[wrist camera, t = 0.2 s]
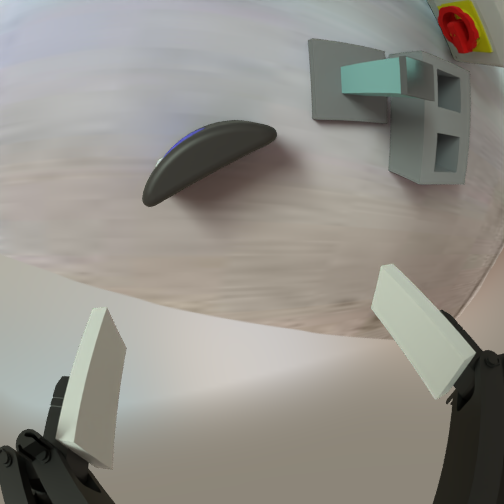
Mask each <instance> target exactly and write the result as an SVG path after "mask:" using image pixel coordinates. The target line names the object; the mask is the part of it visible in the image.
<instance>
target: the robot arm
mask: <svg viewBox="0 0 504 504" xmlns="http://www.w3.org/2000/svg"><path fill="white" fill-rule="evenodd" d="M371 309H372V310H373V311H374V313H375V314H376V315H377V317H378V318H379V319H380V321H381V322H382V323H383V325H384V326H385V328H386V329H387V330H388V332H389V333H390V334H391V336H392V337H393V339H394V340H395V341H396V343H397V344H398V345H399V347H400V348H401V350H402V351H403V352H404V354H405V355H406V357H407V358H408V360H409V361H410V362H411V364H412V365H413V367H414V368H415V370H416V371H417V373H418V374H419V376H420V377H421V379H422V380H423V382H424V383H425V385H426V386H427V388H428V389H429V391H430V392H431V394H432V396H433V397H434V399H435V400H436V399H438V398H440V397H441V396H443V395H445V394H447V393H448V391H449V390H450V389H451V388H452V386H453V385H454V387H455V388H456V389H455V391H454V392H453V393H452V394H451V396H450V397H449V398H448V399H447V401H446V404H448V403H449V402H450V401H451V399H452V398H453V401H452V402H451V405H452V414H451V422H450V430H449V437H448V443H447V448H446V454H445V459H444V464H443V468H442V472H441V476H440V480H439V484H438V488H437V491H436V495H435V498H434V501H433V504H504V354H500V355H497V354H496V353H495V352H493V351H490V350H485V351H482V350H481V349H480V348H479V346H478V345H477V344H476V343H475V342H474V340H473V339H472V338H471V337H470V336H469V335H468V334H467V332H466V331H465V330H463V328H462V327H461V326H460V325H459V324H458V323H457V321H456V320H455V319H454V318H453V317H452V316H451V315H450V314H448V313H447V312H445V311H443V310H440V311H439V310H438V309H437V308H436V307H435V306H434V305H433V304H432V302H431V301H430V300H429V299H428V298H427V297H426V296H425V295H424V294H423V293H422V292H421V291H420V290H419V289H418V288H417V287H416V286H415V285H414V284H413V283H412V282H411V281H410V280H409V279H408V278H407V277H406V276H405V275H404V274H403V273H402V272H401V271H400V270H399V269H398V268H397V267H396V266H395V265H394V264H388V265H383V266H381V268H380V273H379V277H378V282H377V286H376V290H375V294H374V298H373V302H372V306H371ZM125 354H126V346H125V344H124V342H123V340H122V338H121V336H120V334H119V332H118V330H117V328H116V326H115V324H114V322H113V319H112V317H111V315H110V313H109V311H108V308H107V307H102V308H93V309H92V312H91V315H90V318H89V320H88V323H87V325H86V328H85V331H84V334H83V337H82V340H81V343H80V345H79V349H78V352H77V355H76V358H75V361H74V364H73V368H72V371H71V375H70V377H67V376H62V378H61V379H60V380H59V382H58V383H57V385H56V387H55V390H54V394H53V399H52V401H51V407H50V409H49V413H48V417H47V421H46V426H45V431H44V435H43V437H42V436H41V435H40V434H39V433H38V432H36V431H34V430H32V429H27V430H24V431H22V432H21V433H20V434H19V436H18V438H17V440H16V450H17V451H16V450H14V449H13V448H11V447H10V446H2V447H0V485H1V490H2V494H3V498H4V502H5V504H115V503H114V501H113V500H112V499H111V498H110V497H109V495H108V494H107V493H106V491H105V490H104V489H103V487H102V486H101V485H100V484H99V482H98V481H97V479H96V478H95V476H94V475H93V474H92V472H91V471H90V470H89V469H88V464H89V463H90V464H91V465H93V466H95V467H97V468H104V469H113V453H114V438H115V427H116V415H117V408H118V399H119V392H120V384H121V378H122V371H123V365H124V359H125Z"/></svg>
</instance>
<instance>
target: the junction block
mask: <svg viewBox="0 0 504 504" xmlns="http://www.w3.org/2000/svg"><path fill="white" fill-rule="evenodd" d="M399 56H408V57H411V58H414V59H417V60H420V61H423V62H426V63H429V64H432V65H433V69H434V92H435V101H428V100H424V99H417V98H405V97H391V137H390V158H389V171H391V172H394V173H396V174H398V175H400V176H402V177H405V178H407V179H409V180H411V181H413V182H415V183H417V184H464V183H465V176H466V169H467V160H468V150H469V137H470V112H471V98H470V74H469V71H467V70H465V69H463V68H461V67H459V66H457V65H455V64H453V63H450V62H448V61H446V60H444V59H441V58H439V57H436V56H434V55H431V54H429V53H426V52H424V51H415V52H406V53H398V54H391V55H389V59H390V58H398V57H399Z"/></svg>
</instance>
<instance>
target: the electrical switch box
mask: <svg viewBox="0 0 504 504" xmlns="http://www.w3.org/2000/svg"><path fill="white" fill-rule="evenodd" d="M427 2H428V4H429V6H430V7H431V9H432V11H433V13H434V15H435V17H436V19H437V21H438V23H439V26H440V27H441V29H442V32H443V34H444V36H445V38H446V41H447V43H448V45H449V48H450V50H451V53H452V55H453V58H454V59H455V60H456V61H460V62H464V63H475V64H483V65H491V66H498V67H504V0H427Z"/></svg>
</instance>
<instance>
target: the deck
mask: <svg viewBox="0 0 504 504" xmlns="http://www.w3.org/2000/svg"><path fill="white" fill-rule="evenodd" d="M308 46H309V59H310V74H311V93H312V119H318V120H348V121H363V122H375V123H386V124H387V96H363V95H354V94H344V93H342V83H341V67H343V66H348V65H353V64H358V63H364V62H370V61H376V60H383V59H385V52H384V51H381V50H377V49H373V48H368V47H364V46H359V45H354V44H348V43H342V42H336V41H329V40H322V39H313V38H312V39H310V40H308Z"/></svg>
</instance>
